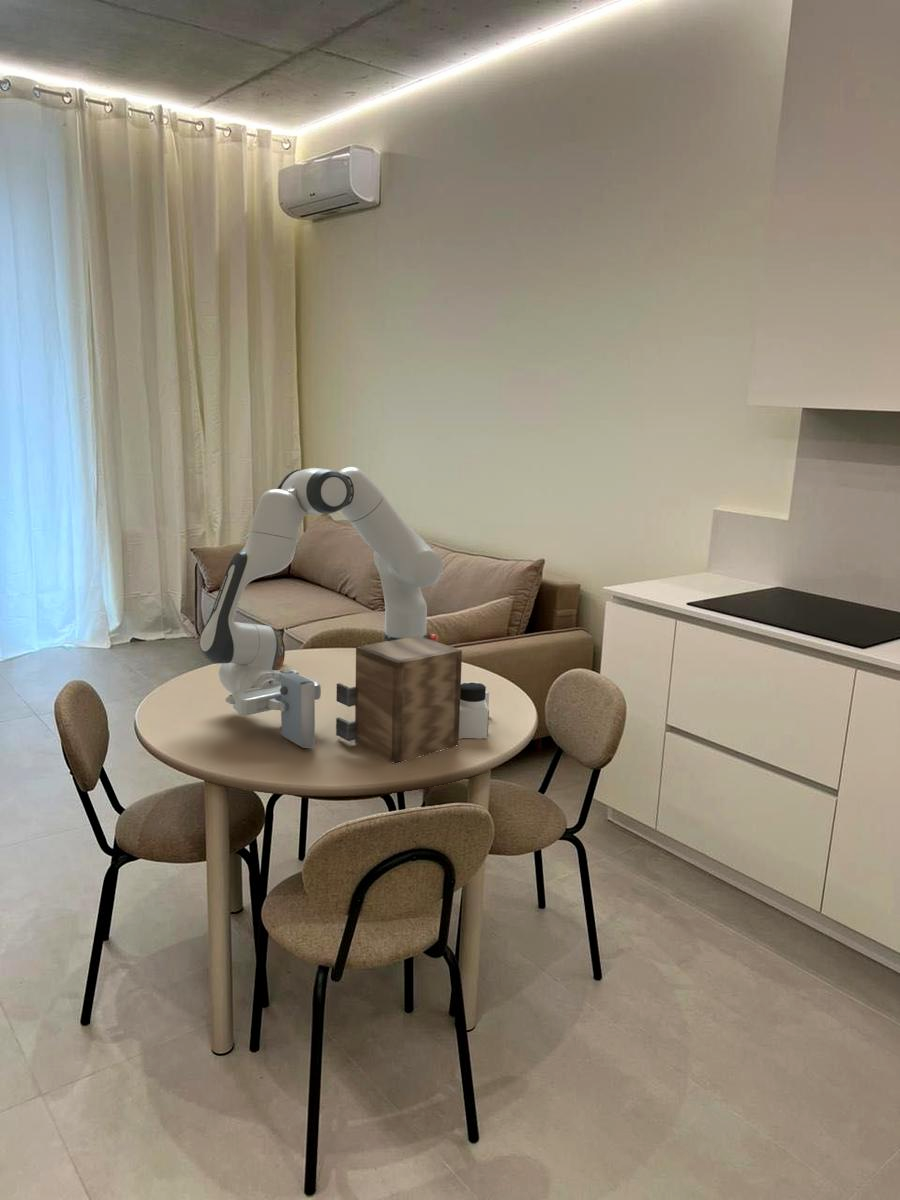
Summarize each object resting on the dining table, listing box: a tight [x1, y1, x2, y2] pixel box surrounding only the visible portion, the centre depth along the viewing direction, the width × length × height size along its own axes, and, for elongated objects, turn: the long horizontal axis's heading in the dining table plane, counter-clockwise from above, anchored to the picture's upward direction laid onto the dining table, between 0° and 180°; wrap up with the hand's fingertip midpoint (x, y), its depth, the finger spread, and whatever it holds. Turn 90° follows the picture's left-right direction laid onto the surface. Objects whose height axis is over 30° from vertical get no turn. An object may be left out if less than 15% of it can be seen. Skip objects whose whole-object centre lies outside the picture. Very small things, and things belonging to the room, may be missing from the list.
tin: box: [273, 637, 286, 671], centre depth 250 cm, size 15×3×8 cm, turn 173°
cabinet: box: [335, 636, 463, 764], centre depth 197 cm, size 20×19×22 cm
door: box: [280, 673, 316, 749], centre depth 194 cm, size 10×4×14 cm, turn 41°
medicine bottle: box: [459, 681, 490, 740], centre depth 205 cm, size 7×7×12 cm
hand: (295, 705), depth 195 cm, fingers closed on door, 3 cm apart
